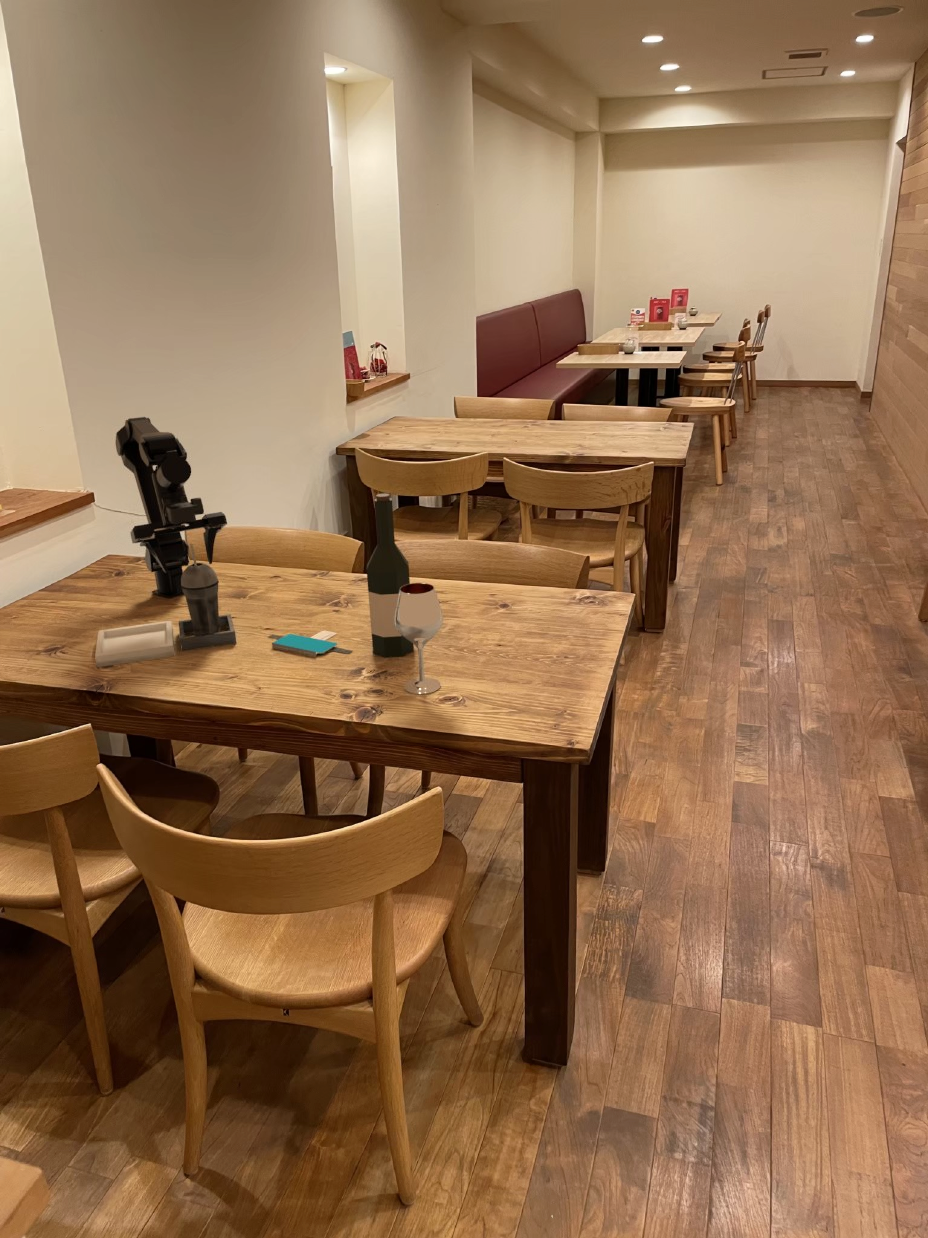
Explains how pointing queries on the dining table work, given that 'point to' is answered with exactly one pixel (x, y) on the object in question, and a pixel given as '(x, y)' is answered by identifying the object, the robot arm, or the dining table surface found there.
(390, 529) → the wine bottle
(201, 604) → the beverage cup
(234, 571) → the dining table surface
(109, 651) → the cream white tray
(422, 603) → the wineglass
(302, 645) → the teal flat block
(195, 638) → the grey-brown square frame
